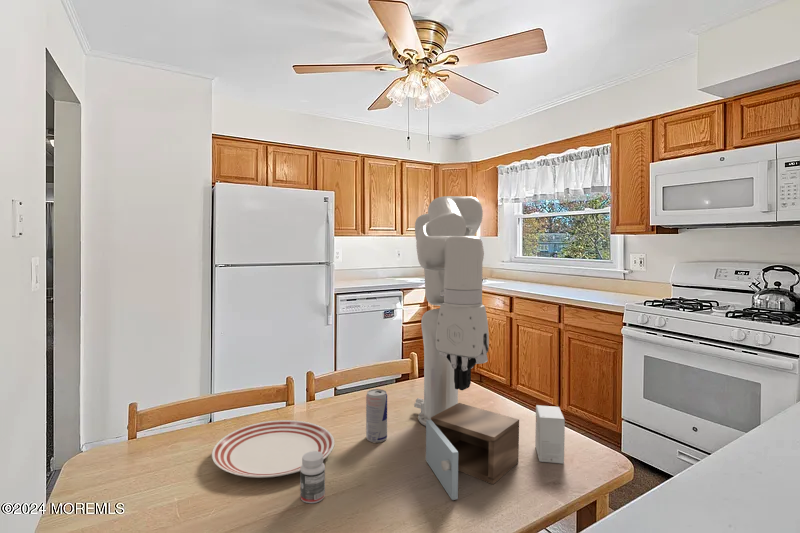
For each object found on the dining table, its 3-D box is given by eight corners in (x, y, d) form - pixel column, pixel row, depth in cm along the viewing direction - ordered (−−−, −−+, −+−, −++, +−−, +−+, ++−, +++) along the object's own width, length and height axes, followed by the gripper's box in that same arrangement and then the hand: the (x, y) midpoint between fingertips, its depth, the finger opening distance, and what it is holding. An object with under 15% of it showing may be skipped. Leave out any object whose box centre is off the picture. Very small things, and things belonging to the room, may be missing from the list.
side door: (420, 461, 99) (420, 420, 99) (430, 459, 100) (431, 419, 100) (445, 501, 84) (445, 453, 84) (457, 499, 85) (458, 451, 84)
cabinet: (430, 459, 101) (431, 417, 100) (458, 441, 110) (459, 402, 109) (493, 484, 90) (494, 437, 90) (518, 462, 100) (519, 419, 99)
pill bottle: (302, 490, 88) (301, 450, 88) (325, 489, 88) (325, 449, 88) (298, 504, 83) (298, 462, 83) (323, 503, 84) (323, 461, 83)
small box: (564, 464, 99) (565, 419, 98) (538, 462, 100) (539, 417, 99) (558, 448, 107) (559, 406, 106) (534, 446, 108) (535, 404, 107)
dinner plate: (355, 443, 109) (355, 430, 109) (283, 502, 84) (282, 486, 84) (270, 424, 121) (269, 412, 120) (183, 471, 96) (183, 456, 96)
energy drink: (390, 435, 113) (390, 390, 113) (382, 444, 108) (382, 397, 108) (371, 432, 115) (371, 387, 114) (362, 441, 110) (362, 394, 109)
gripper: (422, 296, 89) (421, 385, 90) (487, 302, 80) (486, 401, 81) (442, 293, 95) (442, 376, 96) (506, 299, 86) (504, 391, 86)
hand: (462, 387), depth 88 cm, fingers closed
